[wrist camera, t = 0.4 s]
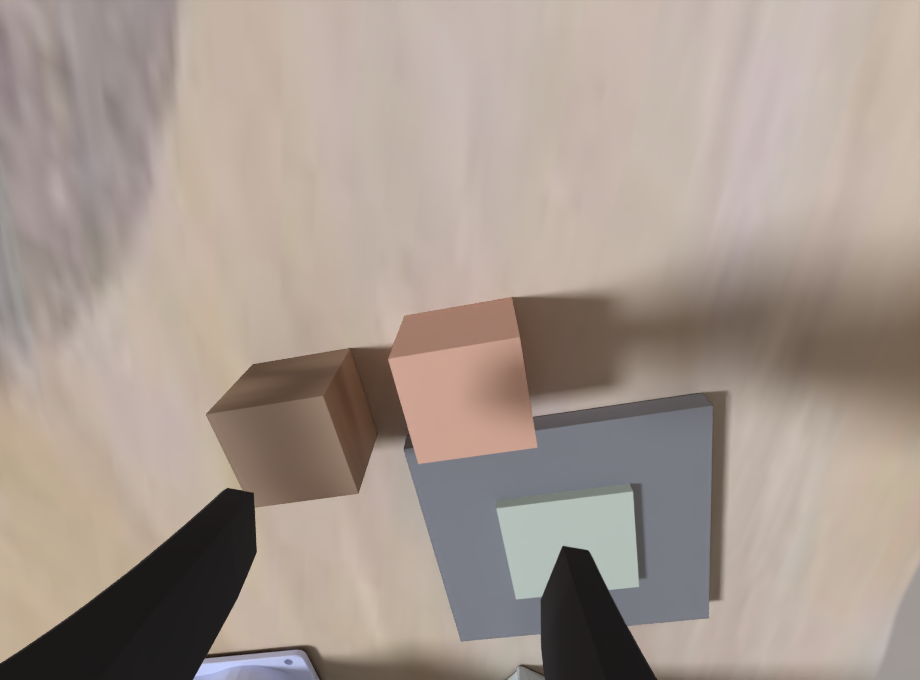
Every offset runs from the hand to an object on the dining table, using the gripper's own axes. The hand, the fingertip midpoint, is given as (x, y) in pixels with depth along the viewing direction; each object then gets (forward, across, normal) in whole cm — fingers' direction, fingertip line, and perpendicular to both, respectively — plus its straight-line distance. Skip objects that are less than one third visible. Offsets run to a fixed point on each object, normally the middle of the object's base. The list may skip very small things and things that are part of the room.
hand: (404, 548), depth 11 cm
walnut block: (+10, +5, +4) cm, 12 cm away
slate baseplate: (+9, -7, +8) cm, 15 cm away
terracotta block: (+10, -1, 0) cm, 10 cm away
